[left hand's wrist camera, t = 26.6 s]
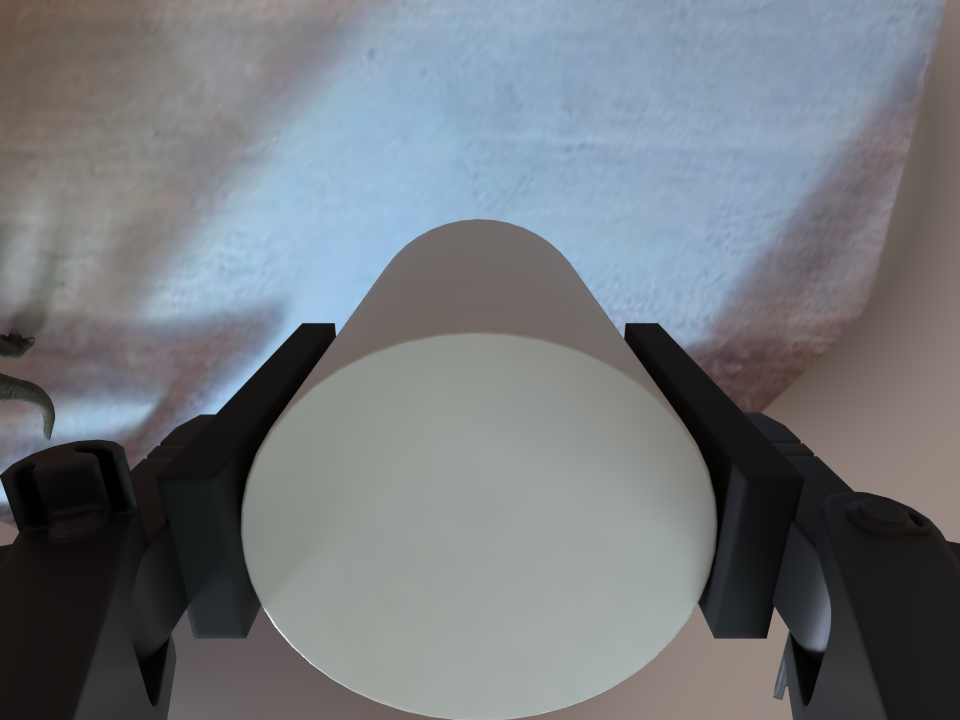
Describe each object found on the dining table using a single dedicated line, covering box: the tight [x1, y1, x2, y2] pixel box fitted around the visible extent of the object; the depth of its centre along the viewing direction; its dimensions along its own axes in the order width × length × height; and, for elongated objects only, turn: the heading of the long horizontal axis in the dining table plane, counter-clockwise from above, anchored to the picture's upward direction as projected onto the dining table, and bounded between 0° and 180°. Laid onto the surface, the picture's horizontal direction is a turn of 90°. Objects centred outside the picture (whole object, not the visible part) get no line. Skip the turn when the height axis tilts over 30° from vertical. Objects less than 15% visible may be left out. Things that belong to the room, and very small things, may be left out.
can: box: [241, 219, 718, 720], centre depth 13 cm, size 7×7×10 cm
